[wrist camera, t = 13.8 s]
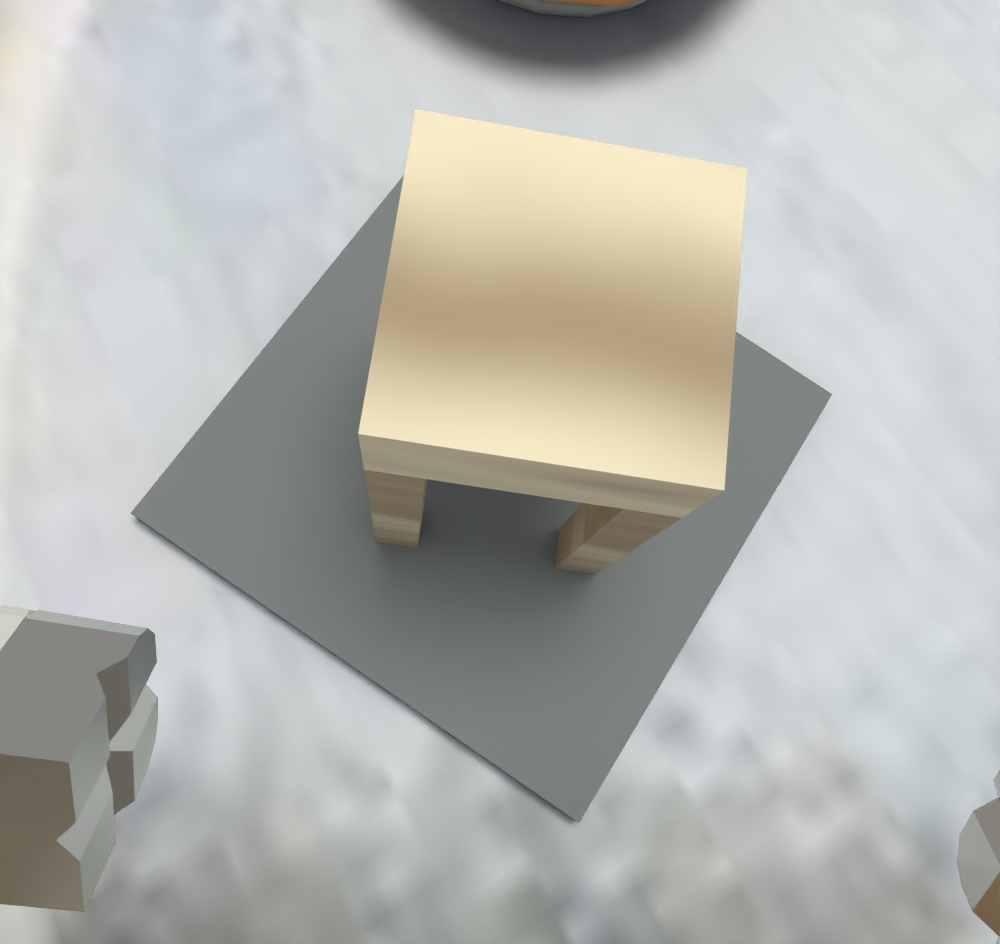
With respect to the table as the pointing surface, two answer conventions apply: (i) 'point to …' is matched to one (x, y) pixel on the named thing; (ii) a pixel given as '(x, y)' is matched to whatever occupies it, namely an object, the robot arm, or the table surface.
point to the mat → (459, 546)
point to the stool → (555, 332)
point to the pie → (574, 6)
